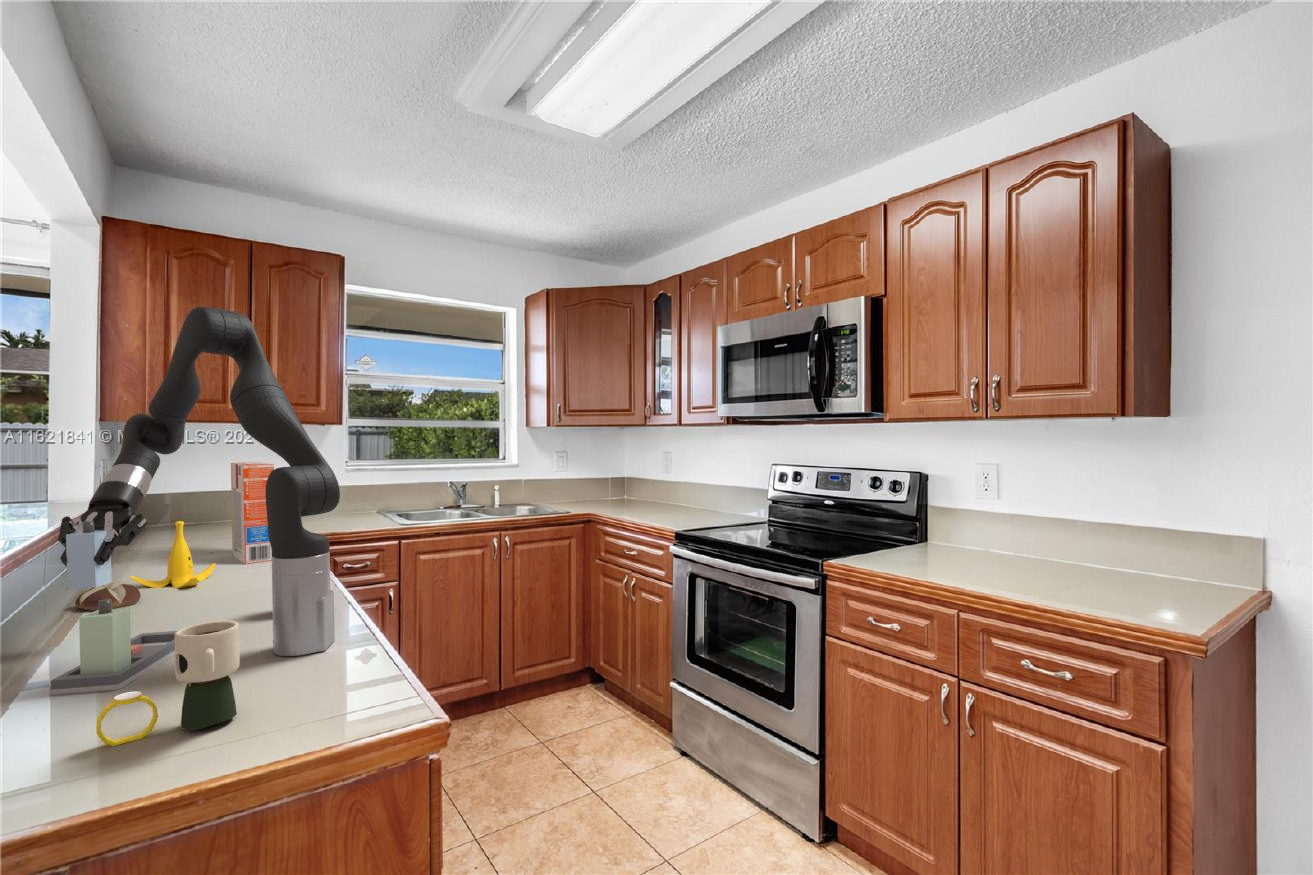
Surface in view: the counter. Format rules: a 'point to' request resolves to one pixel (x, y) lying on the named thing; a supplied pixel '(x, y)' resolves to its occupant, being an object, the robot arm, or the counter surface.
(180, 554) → the banana peel
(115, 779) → the counter surface
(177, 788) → the counter surface
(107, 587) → the bread
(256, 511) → the pasta box
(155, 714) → the watch
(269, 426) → the robot arm
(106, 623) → the green knobbed block
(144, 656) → the grey rimmed tray
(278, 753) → the counter surface
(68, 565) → the plug
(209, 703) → the character mug
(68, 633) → the counter surface
